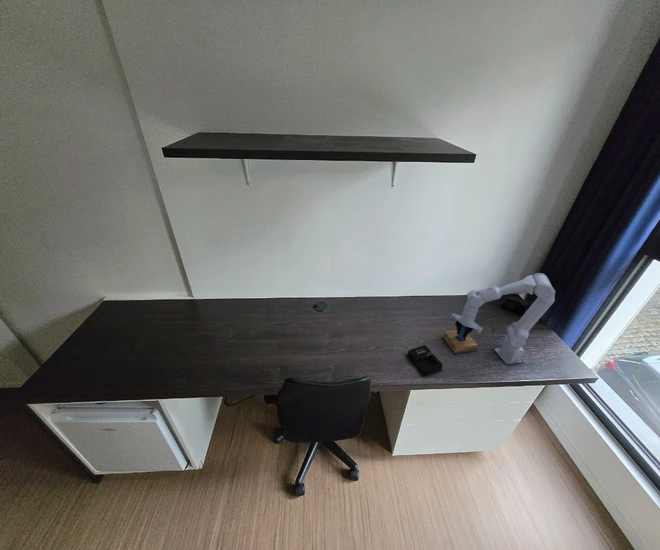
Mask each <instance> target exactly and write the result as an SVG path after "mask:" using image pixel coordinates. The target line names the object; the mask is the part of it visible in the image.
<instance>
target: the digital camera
mask: <svg viewBox="0 0 660 550" xmlns="http://www.w3.org/2000/svg"><path fill="white" fill-rule="evenodd" d="M529 302H530V301H528V300H525V299H522V298H520V297H516V296H512V295H508V296H507V298H506V300H505V303H504V306H503V309H506V310H509V311H512V312H515V313H518V314H520V315H524V314H525V313H526V311H527V310H528V307H529Z"/></svg>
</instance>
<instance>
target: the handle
mask: <svg viewBox="0 0 660 550" xmlns="http://www.w3.org/2000/svg"><path fill="white" fill-rule="evenodd" d="M466 328H467V326H464V325H462V326H461V329H460V332H459V335H458V338H457V339H458V340H459V341H463V340H464V338H463V337H464V335H465V331H466Z"/></svg>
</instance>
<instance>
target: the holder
mask: <svg viewBox="0 0 660 550" xmlns="http://www.w3.org/2000/svg"><path fill="white" fill-rule="evenodd" d="M458 335H459V334H457V329H456V330H455V329H454V330H447V331H444V333H443V337H442V338H443V339H444V341H445V342H446V344H447V345H448V347H450V349H451V350H452V352H453V353H454V354H460V353H466V352H475V351H476V350H477V347H478V343H476V341H475V340H474V339H473V338H472V337H471V335H470V333H469V334H468V335H467V337H466V338H464V340H463V341H459V340H458V339H457V338H458Z"/></svg>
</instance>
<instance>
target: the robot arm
mask: <svg viewBox="0 0 660 550" xmlns="http://www.w3.org/2000/svg"><path fill="white" fill-rule="evenodd" d="M519 292H525V293H527V294H529V295H534V294H535V296H536V297H537V298H536V299H535V300H534V301H533V303H532V304H530V306H529V308H527V309H526V311H525V313H524V314H522V316H521V317H520V318H519V320H518V321H513V323H511V324H510V325H508V326H507V327H506V328H505V331H506V334H505V336H504V338H503V340H502V342H501V345H500V347H497V348H494V349H493V350H494V351H495V353H496V354H497V355H498V356H499V357H500V358H501V360H502V361H503V362H504V363H505V364H506V365H513V364H519V363H522V362H523V361H522V360H523V358H524V356H525V354H526V351H525V350H524V349H523V347H524V346H525V345H526V344H527V343H526V342H527V340H528V339H529V334H530V330H531V329H532V328H533V327H534V326H535V325H536V324H537V323H538V321H539V320H540V319H541V318H542V317H543V316H544V314H545V313H546V312H547V311H548V309H550V307H551V306H552V305H553V304H554V302H555V301H556V299H555V297H556V295H555V294H556V290H555V288H554V287H553V286H552V284H551V281H550V279H549V277H548V276H547V275H546V274H544V273H541V272H537V273H533V274H530V275H527V276H526V277H525V278H523V279H520V280H517V281H515V282H512V283H508V284H506V285H503V286H496V285H494V286H488V287H487V288H483V289H477V290H470V291H469V292H467V293H466V297H467V300H466V301H465V303H464V307H463V310H462V313H461V315H460V314H457V313H455V312H453V313H451V315H450V319H455V320H456V321H455V323H454V325H455V327H456V330H457V334H459V332H460V329H461V326H462V325H464V326H467V328H466V331H465V335H464V337H463V338H466V337H467V335H468V334H469V335H470V333H472V332H473V331H474V330H475V331H477V333H478V334H480V333H481V332H482V331H483V329H484V328H483V327H482V326H481V325H479V324H477V323H476V322H475V319H476V317H477V314H478V311H479V308H480V307H482V306H483V305H484V304H486V303H488V302H493V301H497V300H500V299H501V298H502V296H505V295H510V294H514V293H519Z"/></svg>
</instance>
